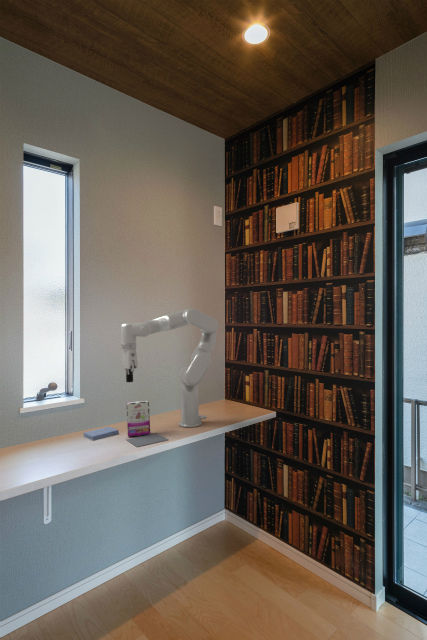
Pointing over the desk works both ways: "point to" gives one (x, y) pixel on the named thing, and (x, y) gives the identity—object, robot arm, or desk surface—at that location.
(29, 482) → the desk surface
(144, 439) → the mat
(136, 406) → the candy bar box
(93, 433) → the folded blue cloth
